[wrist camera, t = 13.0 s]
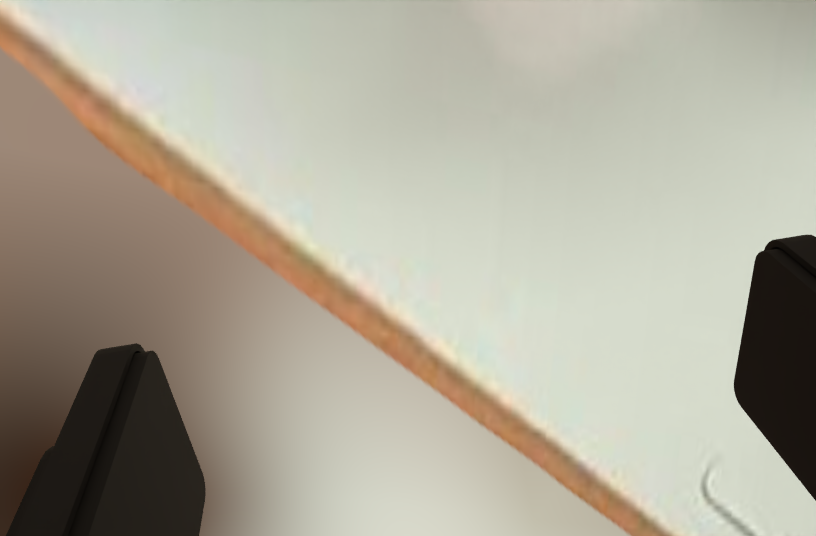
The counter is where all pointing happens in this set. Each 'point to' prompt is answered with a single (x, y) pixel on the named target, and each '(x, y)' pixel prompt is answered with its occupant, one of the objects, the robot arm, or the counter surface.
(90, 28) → the counter surface
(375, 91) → the counter surface
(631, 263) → the counter surface
